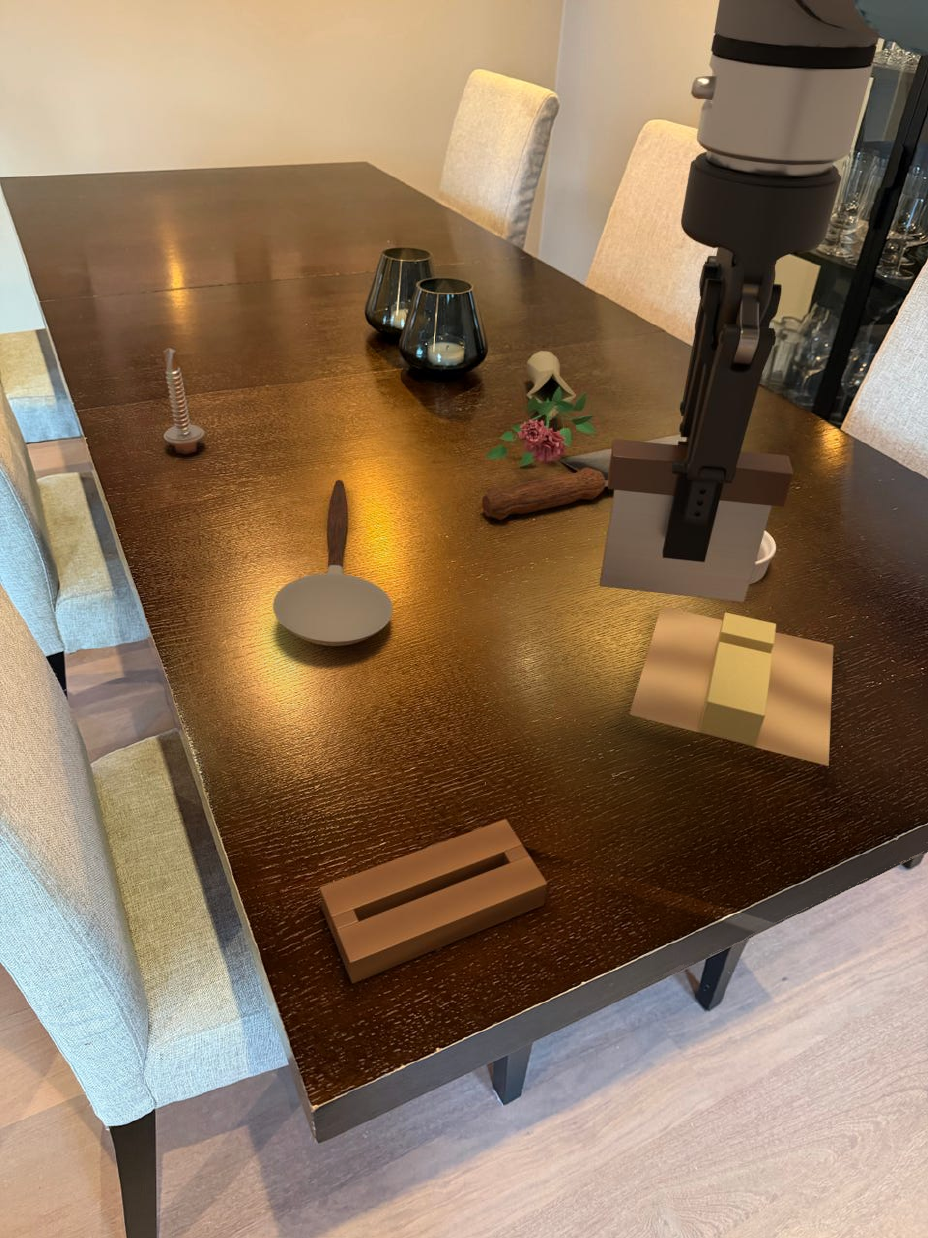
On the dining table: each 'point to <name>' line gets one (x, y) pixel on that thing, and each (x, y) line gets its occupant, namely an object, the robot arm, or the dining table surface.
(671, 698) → the butter board
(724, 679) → the butter stick
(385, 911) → the block
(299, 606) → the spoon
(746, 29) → the robot arm
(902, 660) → the dining table surface
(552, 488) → the meat cleaver
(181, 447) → the screw
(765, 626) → the butter pat
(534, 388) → the carnation
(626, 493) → the dough scraper
